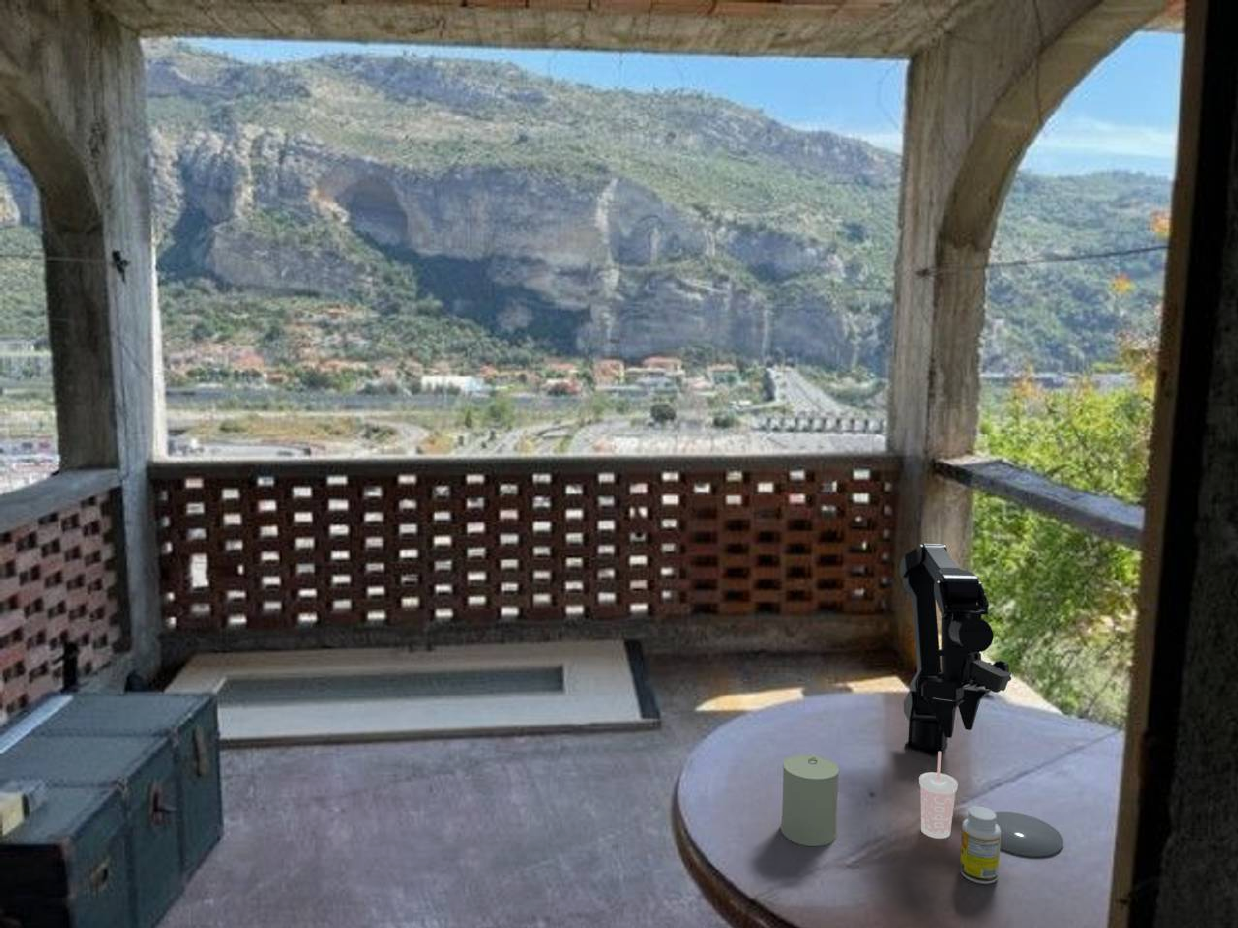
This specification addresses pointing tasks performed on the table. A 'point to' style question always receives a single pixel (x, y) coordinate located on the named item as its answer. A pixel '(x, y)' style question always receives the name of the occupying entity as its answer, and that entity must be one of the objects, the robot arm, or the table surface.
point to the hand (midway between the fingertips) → (958, 733)
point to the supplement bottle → (980, 846)
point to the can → (809, 799)
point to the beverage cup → (937, 802)
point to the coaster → (1027, 835)
